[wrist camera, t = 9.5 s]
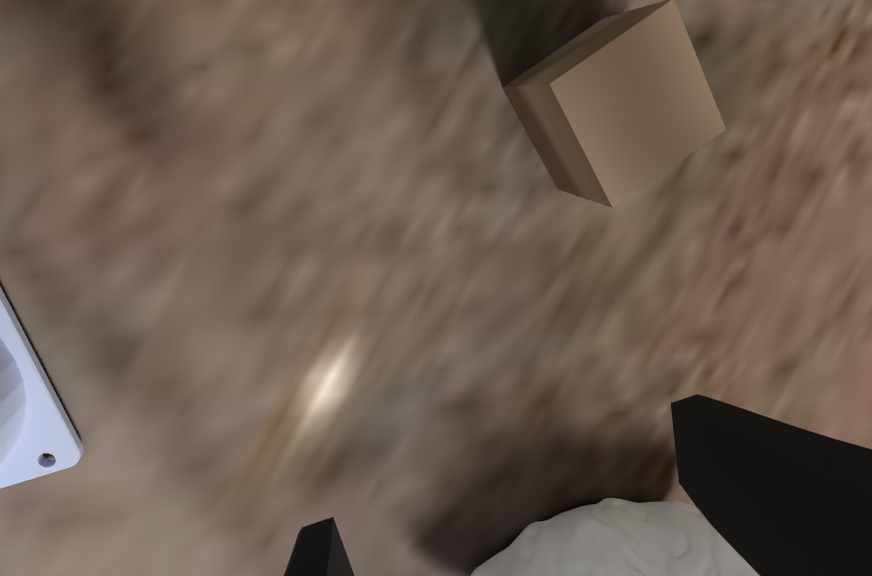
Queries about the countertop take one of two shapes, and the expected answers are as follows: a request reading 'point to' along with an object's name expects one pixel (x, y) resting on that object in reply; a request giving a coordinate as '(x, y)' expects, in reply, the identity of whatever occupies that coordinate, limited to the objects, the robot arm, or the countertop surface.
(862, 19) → the countertop surface
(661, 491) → the countertop surface
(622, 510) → the bust
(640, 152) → the walnut cube
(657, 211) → the countertop surface
